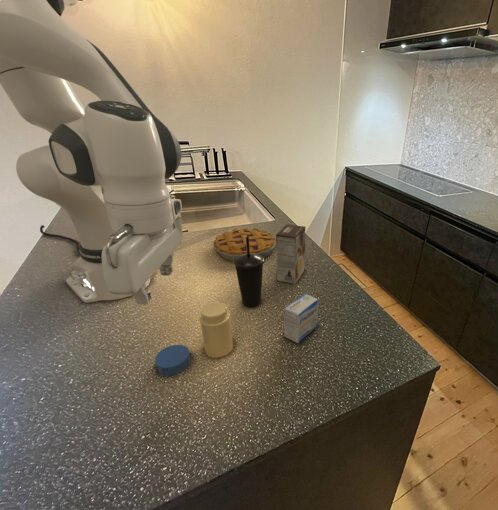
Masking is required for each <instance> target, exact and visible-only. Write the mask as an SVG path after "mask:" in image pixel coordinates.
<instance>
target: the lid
mask: <svg viewBox="0 0 498 510" xmlns="http://www.w3.org/2000/svg"><path fill="white" fill-rule="evenodd" d="M191 361H192V357H191V353H190V349H189V348H188V346H186V345H185V344H173V345H168V346H166V347H164V348H163V349H161V350H160V351H159V352H157V354H156V355H155V357H154V364H155V367H156V370H157V373H159V375H162V376H174V375H178V374H180V373H182V372H183V371H184V370H186V369H187V368H188V367H189V366H190V363H191Z"/></svg>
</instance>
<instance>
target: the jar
mask: <svg viewBox="0 0 498 510" xmlns="http://www.w3.org/2000/svg"><path fill="white" fill-rule="evenodd" d="M227 308H228V307H227V305H226V304H225V303H223V302H221V301H213V302H209V303H206V304H205V305H204V306H202V307H201V310H200V316H199V325H200V330H201V336H202V342H203V348H204V352H205V355H206V356H207V357H209V358H214V359H217V358H223V357H226V356H227V355H228V354H230V353H231V352H232V350H233V348H234V340H233V330H232V321H231V313H230V312H229V311H228V309H227Z"/></svg>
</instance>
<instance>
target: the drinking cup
mask: <svg viewBox="0 0 498 510" xmlns="http://www.w3.org/2000/svg"><path fill="white" fill-rule="evenodd" d="M246 245H247V253H245V254H241V255H238V256H237V257H235V258H234V260H233V261H232V262H233V266H234V268H235V272H236V276H237V282H238V287H239V292H240V297H241V302H242V305H243V306H244V307H245V308H249V309H253V308H257V307H259V306H260V304H261V302H262V285H263V272H264V271H263V269H264V263H265V257H264V258H263V256H261V255H259V254H256V253H250V249H249V237H246Z"/></svg>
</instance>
